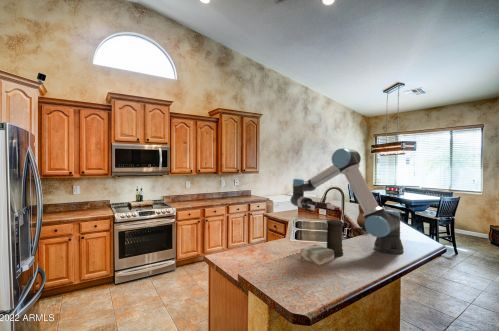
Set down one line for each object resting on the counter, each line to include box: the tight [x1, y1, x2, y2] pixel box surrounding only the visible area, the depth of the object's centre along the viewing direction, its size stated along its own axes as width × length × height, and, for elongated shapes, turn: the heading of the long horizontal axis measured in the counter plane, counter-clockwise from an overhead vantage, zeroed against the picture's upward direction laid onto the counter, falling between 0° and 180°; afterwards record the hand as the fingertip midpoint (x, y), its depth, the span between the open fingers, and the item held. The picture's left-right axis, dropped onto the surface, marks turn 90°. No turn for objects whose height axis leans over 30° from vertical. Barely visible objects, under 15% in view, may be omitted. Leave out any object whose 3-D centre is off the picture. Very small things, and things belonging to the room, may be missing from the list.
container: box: [326, 219, 344, 257], centre depth 141 cm, size 9×9×18 cm
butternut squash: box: [356, 202, 366, 230], centre depth 198 cm, size 14×13×25 cm
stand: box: [300, 244, 335, 266], centre depth 133 cm, size 12×12×5 cm
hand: (324, 207), depth 150 cm, fingers open, 13 cm apart
